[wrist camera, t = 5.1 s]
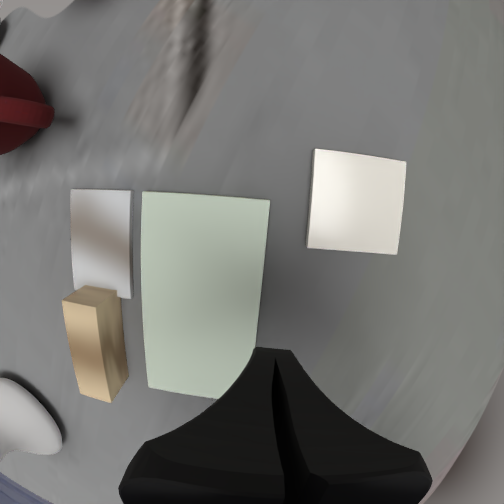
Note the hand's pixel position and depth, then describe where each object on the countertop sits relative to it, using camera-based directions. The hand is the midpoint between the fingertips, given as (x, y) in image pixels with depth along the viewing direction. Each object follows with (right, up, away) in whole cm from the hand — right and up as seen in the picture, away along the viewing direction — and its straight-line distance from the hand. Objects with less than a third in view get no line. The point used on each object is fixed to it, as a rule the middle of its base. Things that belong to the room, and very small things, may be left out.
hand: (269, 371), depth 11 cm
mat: (-4, +1, +10) cm, 11 cm away
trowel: (-12, +1, +10) cm, 16 cm away
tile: (+6, +4, +9) cm, 11 cm away
